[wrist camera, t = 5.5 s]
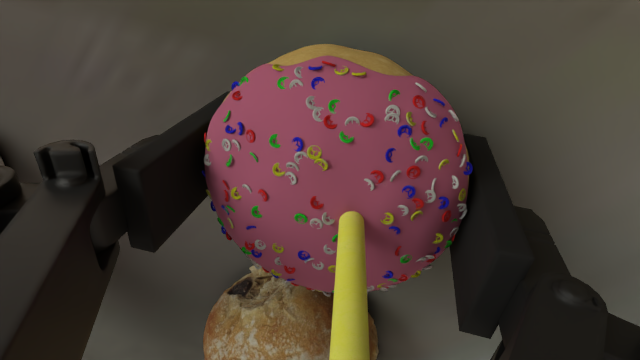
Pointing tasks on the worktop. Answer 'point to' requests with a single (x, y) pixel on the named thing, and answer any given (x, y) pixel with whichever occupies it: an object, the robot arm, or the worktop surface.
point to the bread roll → (272, 322)
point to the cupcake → (338, 177)
